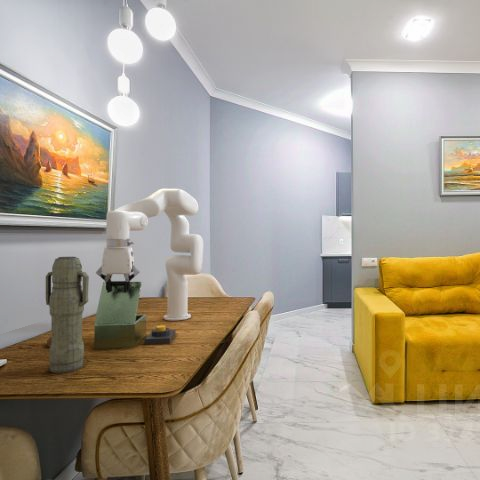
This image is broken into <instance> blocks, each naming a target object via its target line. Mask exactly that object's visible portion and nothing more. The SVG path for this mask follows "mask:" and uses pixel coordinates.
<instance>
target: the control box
mask: <svg viewBox="0 0 480 480" xmlns="http://www.w3.org/2000/svg"><path fill="white" fill-rule="evenodd" d="M176 331H177V330H176V329H171V328H169V327H166V330H165V331H156V328H153V329H151V332H150V333H148V335H146V336H145V337H144V346H145V345H148V346H149V345H169V344H171V342H173V340H174V338H175V336H176V334H177V332H176Z"/></svg>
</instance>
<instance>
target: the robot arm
mask: <svg viewBox="0 0 480 480" xmlns="http://www.w3.org/2000/svg"><path fill="white" fill-rule="evenodd" d="M199 208H200V207H199V203H198V201H197V200H196V198H194V197H193V196H192V195H191V194H190V193H188V192H187V191H185V190H183V189H181V188H160V189H157V190H156V191H155V192H152V193H151V194H150V195H148V196H146V197H145V198H143V199H139V200H135V201H133V202H129V203H127V204H124V205H121V206H119V207H117V208H116V209H114V210H109V211H108V212H107V213H106V247H104V249H103V253H102V258H101V259H102V260H101V266H100V267H99V268H98V269H97V270H96V271H95V274H96V275H97V276H98V277H100V278H101V279H102V280H103V282H106V290H107V293H109V292H112V286H111V281H112V278H113V275H123V277H124V281H125V282H124V292H128V291H129V290H130V282H132V280H133V279H134V278H135V277H137V276H138V275H139V274H140V272H141V271H140V270H139V269H138V268H137V267H136V265H135V257H134V256H135V255H134V250H133V247H131V245H134V243H135V242H134V240H131V239H130V237H131V236H130V235H131V233H130V232H131V231H132V232H133V231H135V232H136V231H143V230H145V229H146V228H147V227H148V225H149V218H153V217H157V216H158V215H160V214H161V213H162V212H164V213H165V215H166V216H167V218H168V220H169V222H170V243H169V244H170V245H169V247H170V250H171V251H172V252H174V253H183V254H174V255H170V256H168V257H167V258H166V260H165V271H166V277H167V297H166V298H167V305H166V306H167V308H166V309H167V310H166V314H165V315H163V319H164V320H165V321H167V322H170V321H171V322H177V321H185V320H188V319H189V320H190V319H191V317H192V315H191V313H188V312H189V311H188V309H189V307H188V306H189V282H188V279H187V277H186V275H189V276H191V275H192V276H194V275H195V276H197V275H200V273H201V272H202V269H203V263H204V261H203V260H204V239H203V237H202V236H201V235H200V234H197V233H190V223H189V221H188V219H187V218H186V216H187V217H188V216H190V217H191V216H195V215H196V214H197V213H198V212H199ZM185 253H186V254H190V255H184V254H185ZM131 273H132V274H131Z"/></svg>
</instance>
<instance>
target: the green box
mask: <svg viewBox="0 0 480 480" xmlns="http://www.w3.org/2000/svg"><path fill="white" fill-rule="evenodd" d="M93 327H94V332H93V333H94V338H93V341H94V342H93V343H94V346H93V349H94V350H108V349H111V350H112V349H125V348H126V349H127V348H128V349H131V348H132V349H133V348H136V347H137V346H138V345H139V344H140V343H141V341H143V340H144V339H145V338H146V337H147V314H137V315H136V321H135V323H126V324H96V325H95V324H94V326H93Z"/></svg>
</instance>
